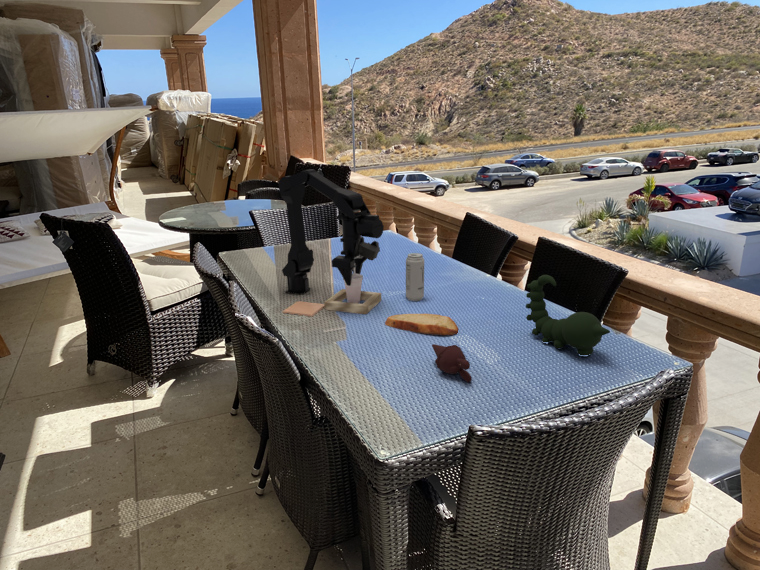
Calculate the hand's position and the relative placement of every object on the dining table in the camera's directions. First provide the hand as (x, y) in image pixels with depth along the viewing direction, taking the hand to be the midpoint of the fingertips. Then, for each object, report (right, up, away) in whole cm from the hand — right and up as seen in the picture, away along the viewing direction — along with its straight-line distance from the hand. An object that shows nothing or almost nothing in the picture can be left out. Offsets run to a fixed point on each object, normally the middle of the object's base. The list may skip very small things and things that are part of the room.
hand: (353, 282), depth 168 cm
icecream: (+25, -21, -43) cm, 54 cm away
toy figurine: (+56, -17, -31) cm, 66 cm away
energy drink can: (+20, -5, +7) cm, 22 cm away
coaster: (-15, -9, -2) cm, 18 cm away
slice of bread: (+21, -13, -16) cm, 30 cm away
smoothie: (0, -7, +2) cm, 8 cm away
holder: (0, -7, +2) cm, 8 cm away
